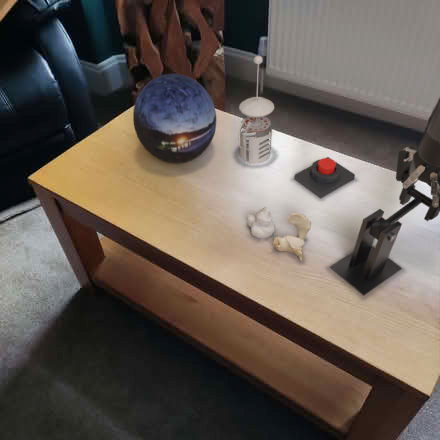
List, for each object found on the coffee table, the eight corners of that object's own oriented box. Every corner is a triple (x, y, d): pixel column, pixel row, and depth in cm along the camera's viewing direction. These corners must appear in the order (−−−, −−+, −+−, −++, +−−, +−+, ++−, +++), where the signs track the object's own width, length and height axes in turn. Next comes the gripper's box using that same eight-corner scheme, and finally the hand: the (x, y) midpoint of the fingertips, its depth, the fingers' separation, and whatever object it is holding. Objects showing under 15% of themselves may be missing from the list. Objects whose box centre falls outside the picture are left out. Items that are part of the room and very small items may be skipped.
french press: (281, 153, 111) (290, 52, 91) (257, 177, 106) (262, 75, 86) (248, 141, 115) (250, 41, 95) (224, 164, 109) (221, 63, 89)
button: (325, 162, 103) (327, 155, 101) (338, 170, 101) (339, 164, 99) (313, 168, 101) (314, 162, 100) (325, 177, 99) (327, 170, 98)
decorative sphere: (233, 152, 112) (232, 75, 96) (177, 190, 104) (166, 113, 88) (181, 125, 121) (172, 50, 105) (126, 158, 112) (107, 81, 96)
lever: (411, 193, 82) (415, 184, 80) (433, 207, 80) (437, 198, 78) (362, 229, 79) (364, 220, 77) (384, 245, 76) (386, 236, 74)
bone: (284, 269, 86) (278, 220, 82) (269, 261, 91) (263, 216, 88) (321, 258, 88) (316, 210, 84) (304, 251, 94) (299, 206, 90)
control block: (326, 164, 108) (329, 150, 105) (353, 182, 103) (356, 168, 100) (293, 181, 104) (295, 168, 101) (320, 201, 100) (322, 187, 96)
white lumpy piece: (266, 246, 92) (268, 219, 85) (240, 234, 94) (240, 206, 88) (279, 231, 94) (282, 203, 88) (254, 220, 97) (255, 192, 90)
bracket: (366, 246, 91) (383, 195, 80) (400, 272, 86) (424, 221, 75) (328, 271, 87) (341, 221, 76) (362, 299, 83) (381, 250, 72)
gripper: (506, 141, 66) (460, 222, 80) (428, 103, 73) (399, 183, 87) (477, 160, 64) (435, 240, 77) (399, 119, 71) (373, 199, 84)
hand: (416, 210), depth 82 cm, fingers open, 5 cm apart
